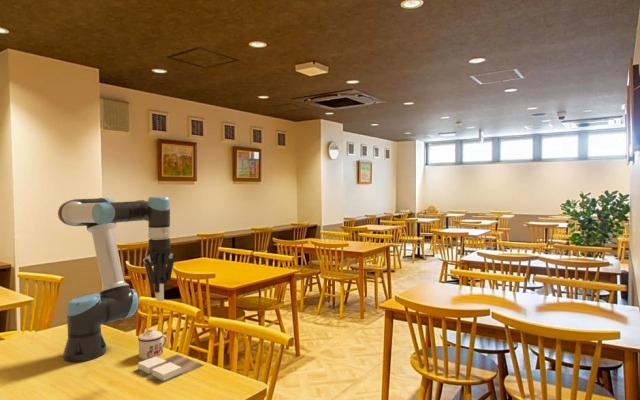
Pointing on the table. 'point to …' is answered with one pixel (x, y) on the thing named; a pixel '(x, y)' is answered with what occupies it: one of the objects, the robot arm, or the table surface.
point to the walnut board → (178, 360)
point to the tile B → (166, 371)
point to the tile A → (150, 364)
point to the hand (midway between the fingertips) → (160, 300)
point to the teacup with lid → (151, 344)
